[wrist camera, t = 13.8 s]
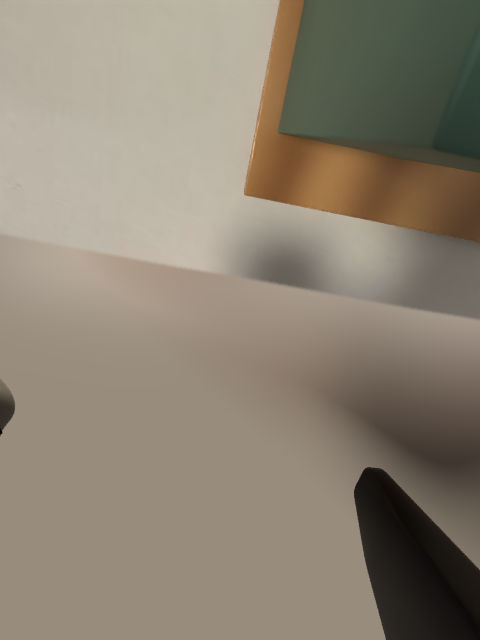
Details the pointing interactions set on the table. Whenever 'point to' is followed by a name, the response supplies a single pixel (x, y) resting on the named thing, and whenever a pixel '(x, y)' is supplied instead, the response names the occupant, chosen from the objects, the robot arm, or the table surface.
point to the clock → (389, 79)
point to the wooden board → (350, 165)
